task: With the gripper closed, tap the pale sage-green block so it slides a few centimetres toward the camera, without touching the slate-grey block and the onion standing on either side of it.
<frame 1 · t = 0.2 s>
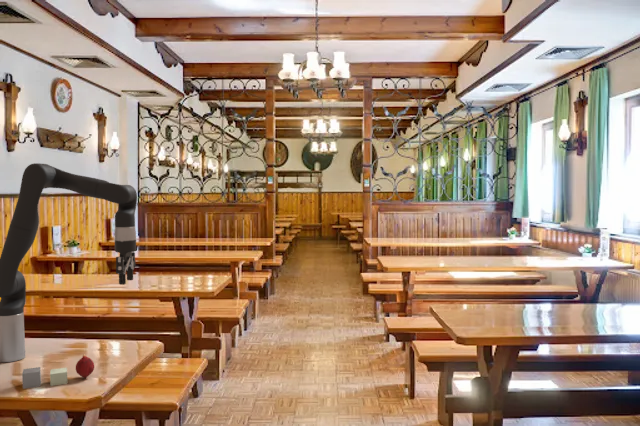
hand: (126, 282, 208), 29 cm above the table, fingers open, 8 cm apart
onion: (85, 378, 189), on the table
sage block: (59, 382, 185), on the table
slate block: (32, 385, 183), on the table
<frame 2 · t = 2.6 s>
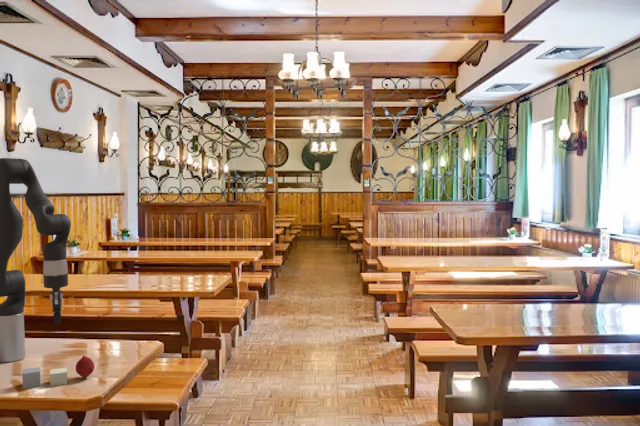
hand: (57, 323, 192), 18 cm above the table, fingers closed
nothing on the table moved.
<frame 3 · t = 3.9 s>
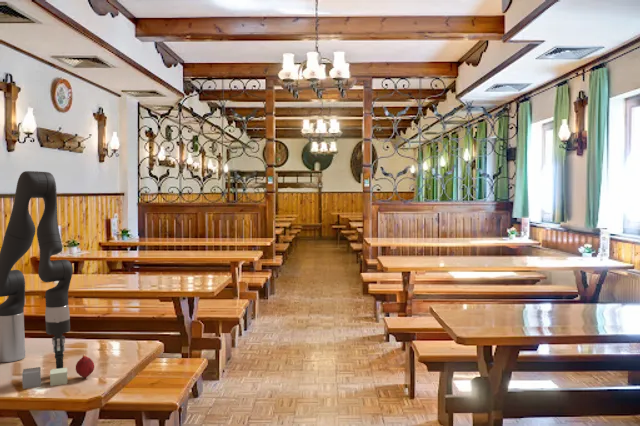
hand: (59, 368, 192), 2 cm above the table, fingers closed
nothing on the table moved.
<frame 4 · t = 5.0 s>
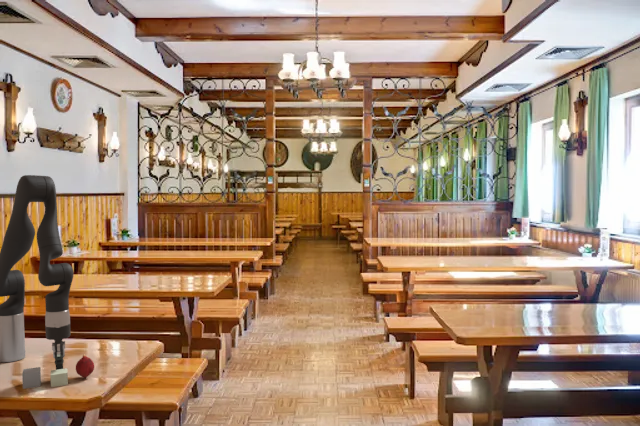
hand: (59, 374, 188), 2 cm above the table, fingers closed
sage block: (59, 383, 184), on the table, touching gripper
everything else where it was.
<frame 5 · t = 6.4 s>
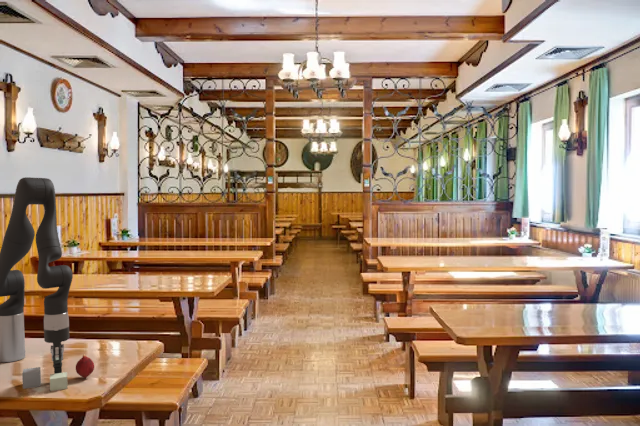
hand: (58, 377, 186), 1 cm above the table, fingers closed
sage block: (58, 387, 181), on the table
everything else where it was.
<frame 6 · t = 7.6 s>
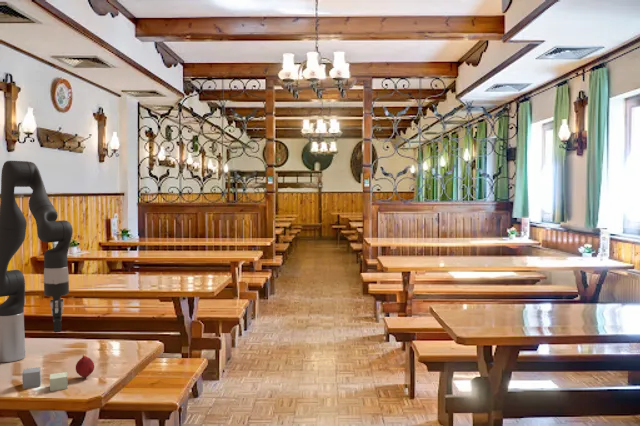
hand: (57, 331, 188), 16 cm above the table, fingers closed
nothing on the table moved.
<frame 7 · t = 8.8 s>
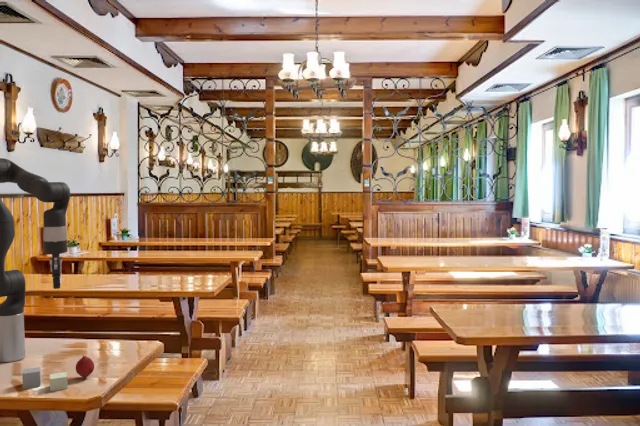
hand: (56, 288, 197), 29 cm above the table, fingers closed
nothing on the table moved.
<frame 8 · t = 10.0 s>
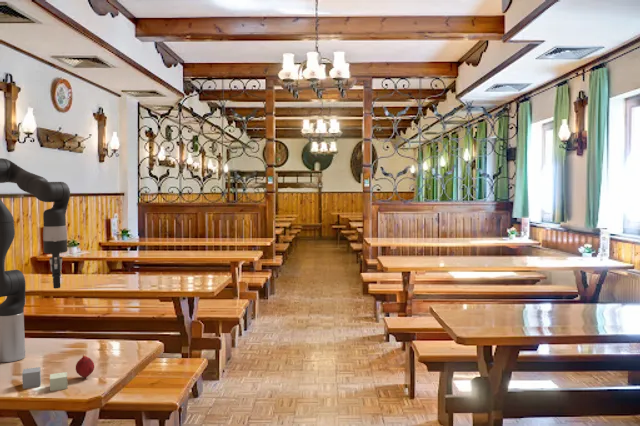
hand: (56, 287, 197), 29 cm above the table, fingers closed
nothing on the table moved.
at the end: sage block moved 5.0 cm from its start; slate block moved 0.1 cm from its start; onion moved 0.2 cm from its start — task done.
